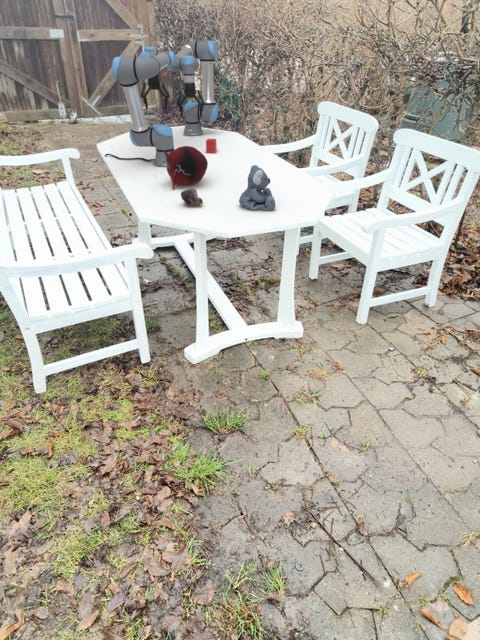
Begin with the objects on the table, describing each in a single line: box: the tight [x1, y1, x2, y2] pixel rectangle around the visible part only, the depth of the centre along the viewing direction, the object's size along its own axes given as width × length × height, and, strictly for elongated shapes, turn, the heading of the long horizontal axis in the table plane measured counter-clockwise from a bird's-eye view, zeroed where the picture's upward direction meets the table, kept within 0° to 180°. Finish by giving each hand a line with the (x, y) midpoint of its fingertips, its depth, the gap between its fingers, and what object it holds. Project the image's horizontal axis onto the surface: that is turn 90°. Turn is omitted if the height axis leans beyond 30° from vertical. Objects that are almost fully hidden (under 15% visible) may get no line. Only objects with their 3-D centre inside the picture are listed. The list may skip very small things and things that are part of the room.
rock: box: [180, 188, 204, 207], centre depth 229 cm, size 12×9×10 cm
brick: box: [205, 138, 218, 154], centre depth 316 cm, size 7×6×8 cm
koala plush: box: [238, 164, 276, 211], centre depth 224 cm, size 17×18×20 cm
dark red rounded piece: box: [163, 145, 209, 190], centre depth 255 cm, size 21×24×25 cm
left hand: (156, 109), depth 309 cm, fingers open, 13 cm apart
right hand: (191, 116), depth 314 cm, fingers open, 13 cm apart
